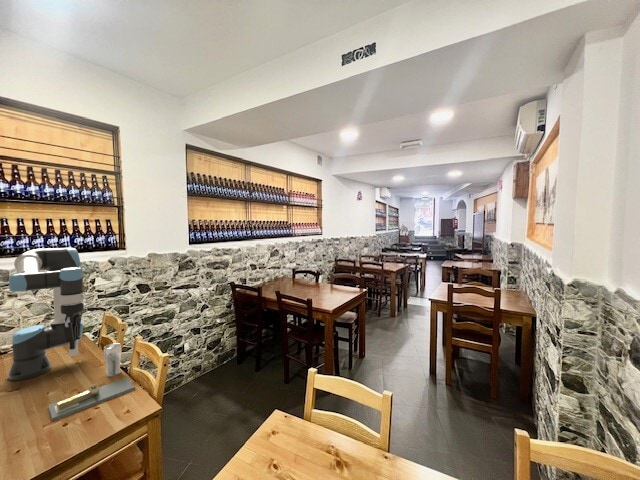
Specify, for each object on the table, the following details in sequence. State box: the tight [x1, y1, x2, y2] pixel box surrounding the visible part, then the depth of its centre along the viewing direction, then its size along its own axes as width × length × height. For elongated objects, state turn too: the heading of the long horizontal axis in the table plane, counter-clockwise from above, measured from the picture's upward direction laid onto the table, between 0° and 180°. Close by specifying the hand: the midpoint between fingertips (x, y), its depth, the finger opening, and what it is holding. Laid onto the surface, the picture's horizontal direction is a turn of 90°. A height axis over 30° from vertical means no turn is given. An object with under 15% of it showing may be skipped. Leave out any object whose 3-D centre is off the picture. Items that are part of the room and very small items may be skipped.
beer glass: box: [104, 342, 122, 378], centre depth 140 cm, size 7×7×15 cm
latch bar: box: [57, 385, 100, 410], centre depth 116 cm, size 4×14×4 cm, turn 148°
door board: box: [48, 377, 136, 422], centre depth 121 cm, size 12×28×1 cm, turn 140°
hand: (73, 355), depth 120 cm, fingers closed
